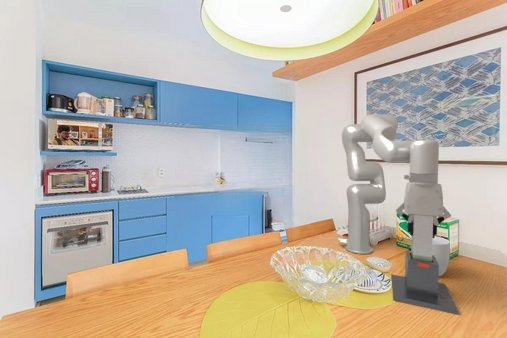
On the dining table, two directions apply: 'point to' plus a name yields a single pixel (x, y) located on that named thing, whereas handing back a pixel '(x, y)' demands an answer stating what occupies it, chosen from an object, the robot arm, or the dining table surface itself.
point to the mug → (441, 253)
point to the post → (422, 238)
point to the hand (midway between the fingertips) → (421, 235)
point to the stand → (422, 286)
